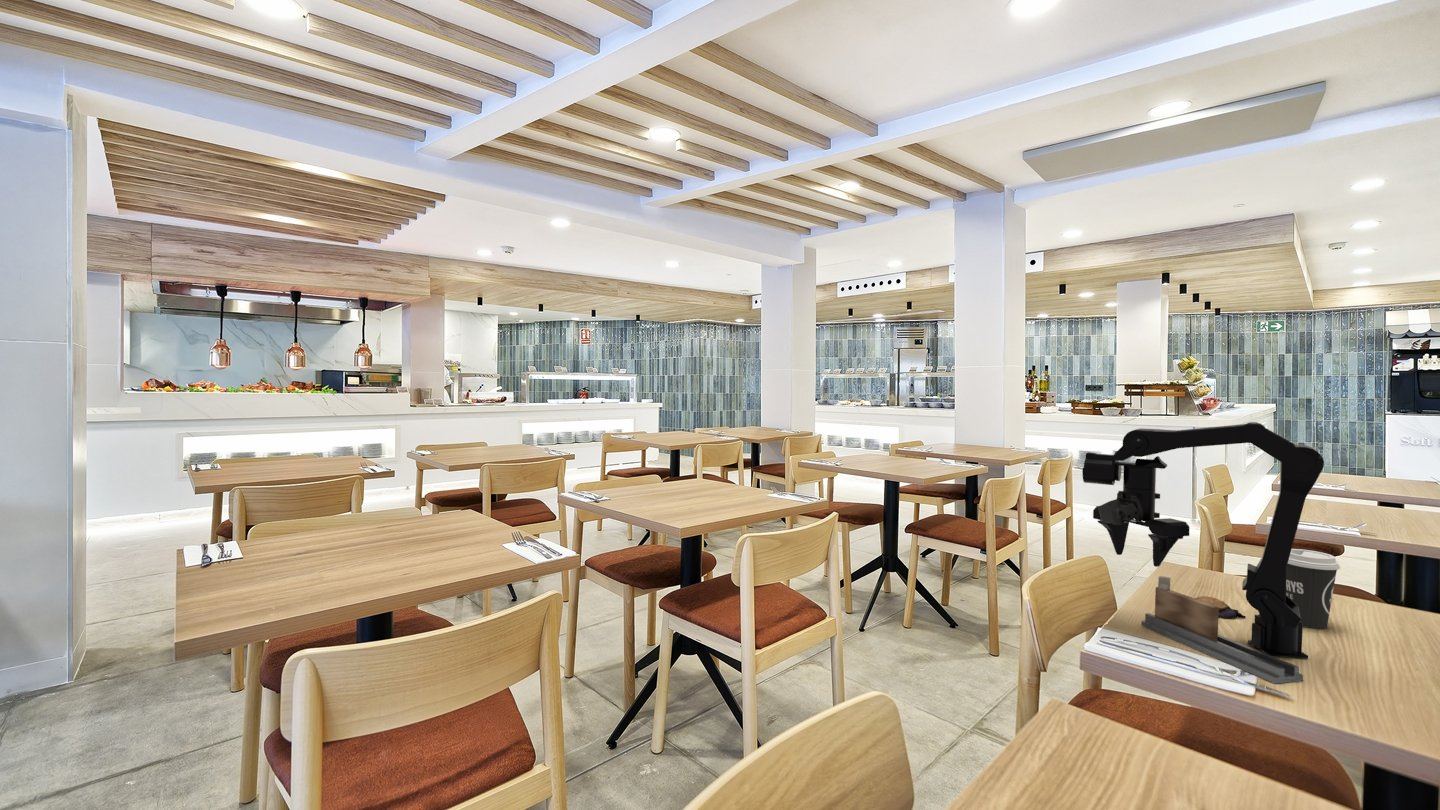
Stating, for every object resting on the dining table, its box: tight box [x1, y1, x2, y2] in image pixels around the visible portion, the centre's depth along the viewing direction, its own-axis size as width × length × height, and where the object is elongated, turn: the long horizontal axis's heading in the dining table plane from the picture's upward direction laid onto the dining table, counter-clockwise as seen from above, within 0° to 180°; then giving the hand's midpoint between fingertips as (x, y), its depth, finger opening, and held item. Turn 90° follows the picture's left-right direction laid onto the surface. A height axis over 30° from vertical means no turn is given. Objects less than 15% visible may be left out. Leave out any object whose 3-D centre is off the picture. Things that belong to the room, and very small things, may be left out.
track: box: [1140, 612, 1304, 685], centre depth 119 cm, size 26×6×2 cm, turn 12°
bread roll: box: [1194, 595, 1247, 620], centre depth 140 cm, size 11×8×4 cm
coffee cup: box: [1286, 548, 1341, 630], centre depth 133 cm, size 10×10×15 cm
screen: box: [1154, 575, 1219, 641], centre depth 125 cm, size 12×2×9 cm, turn 12°
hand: (1137, 560), depth 133 cm, fingers open, 9 cm apart
